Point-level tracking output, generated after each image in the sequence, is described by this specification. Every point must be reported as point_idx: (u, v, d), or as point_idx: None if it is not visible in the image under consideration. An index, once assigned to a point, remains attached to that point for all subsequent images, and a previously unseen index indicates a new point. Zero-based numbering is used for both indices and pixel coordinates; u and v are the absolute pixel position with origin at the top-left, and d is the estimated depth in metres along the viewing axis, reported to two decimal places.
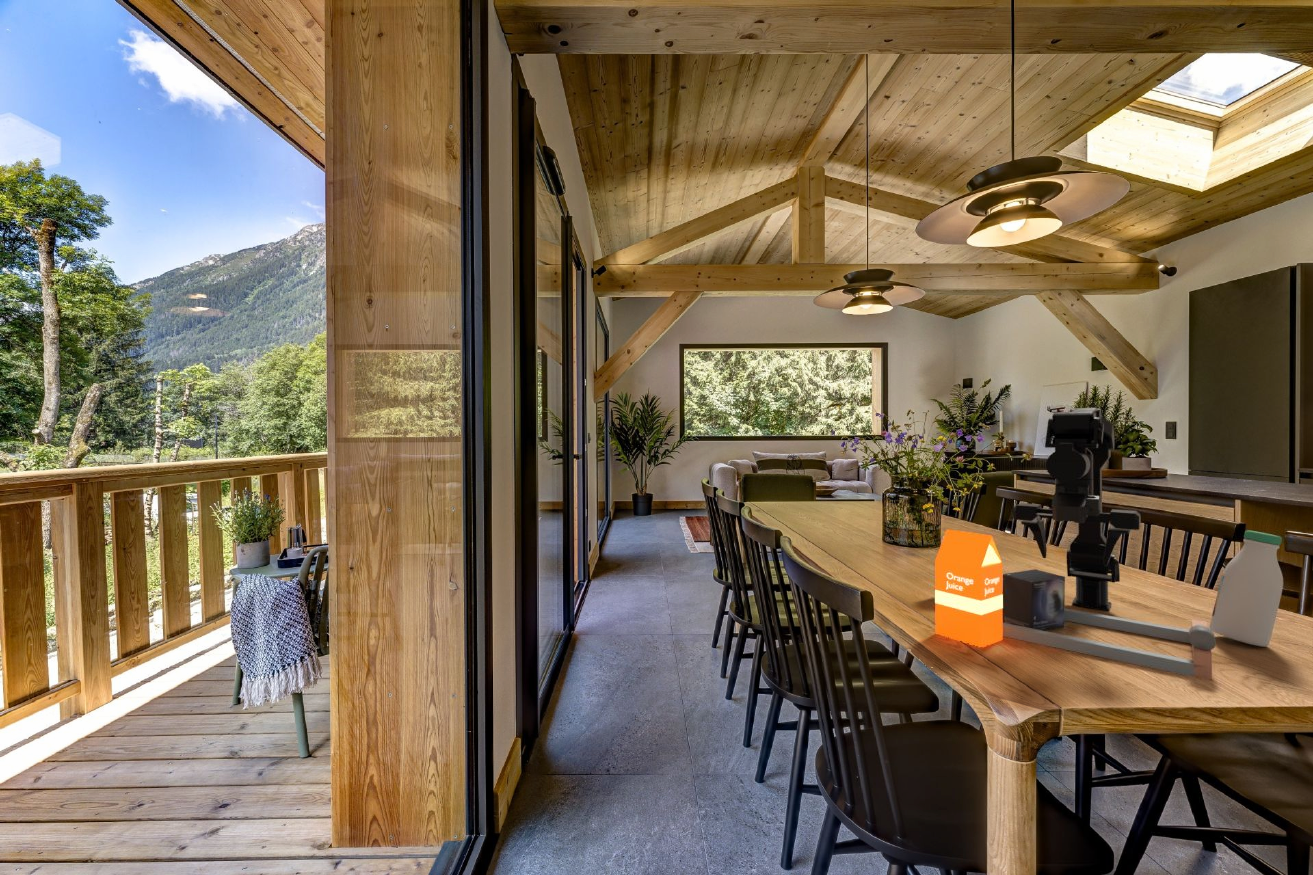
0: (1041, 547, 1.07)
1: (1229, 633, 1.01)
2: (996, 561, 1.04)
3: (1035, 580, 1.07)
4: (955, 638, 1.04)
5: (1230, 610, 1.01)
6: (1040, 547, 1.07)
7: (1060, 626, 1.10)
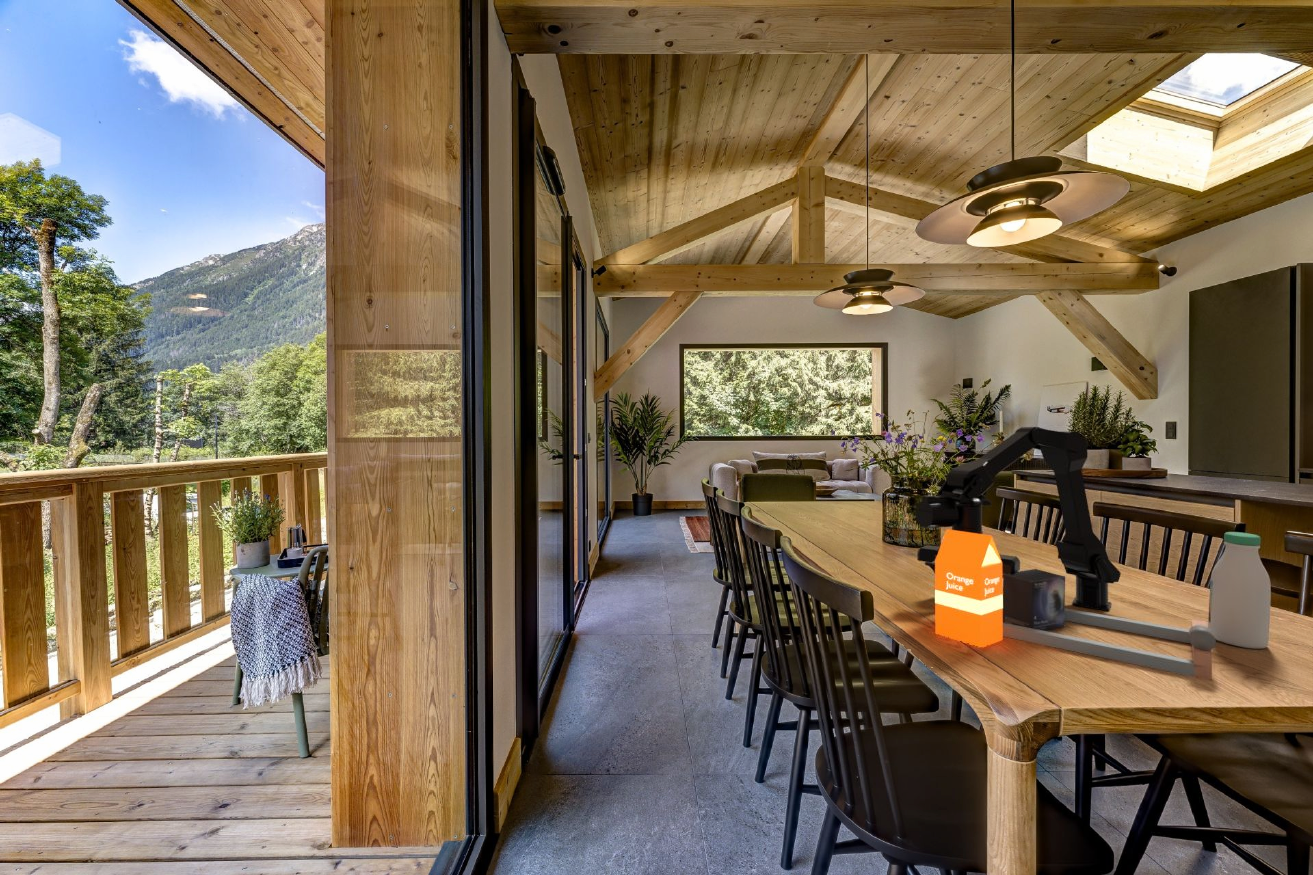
0: None
1: (1228, 639, 1.00)
2: (996, 561, 1.04)
3: (1035, 580, 1.07)
4: (955, 638, 1.04)
5: (1225, 616, 1.01)
6: None
7: (1060, 626, 1.10)
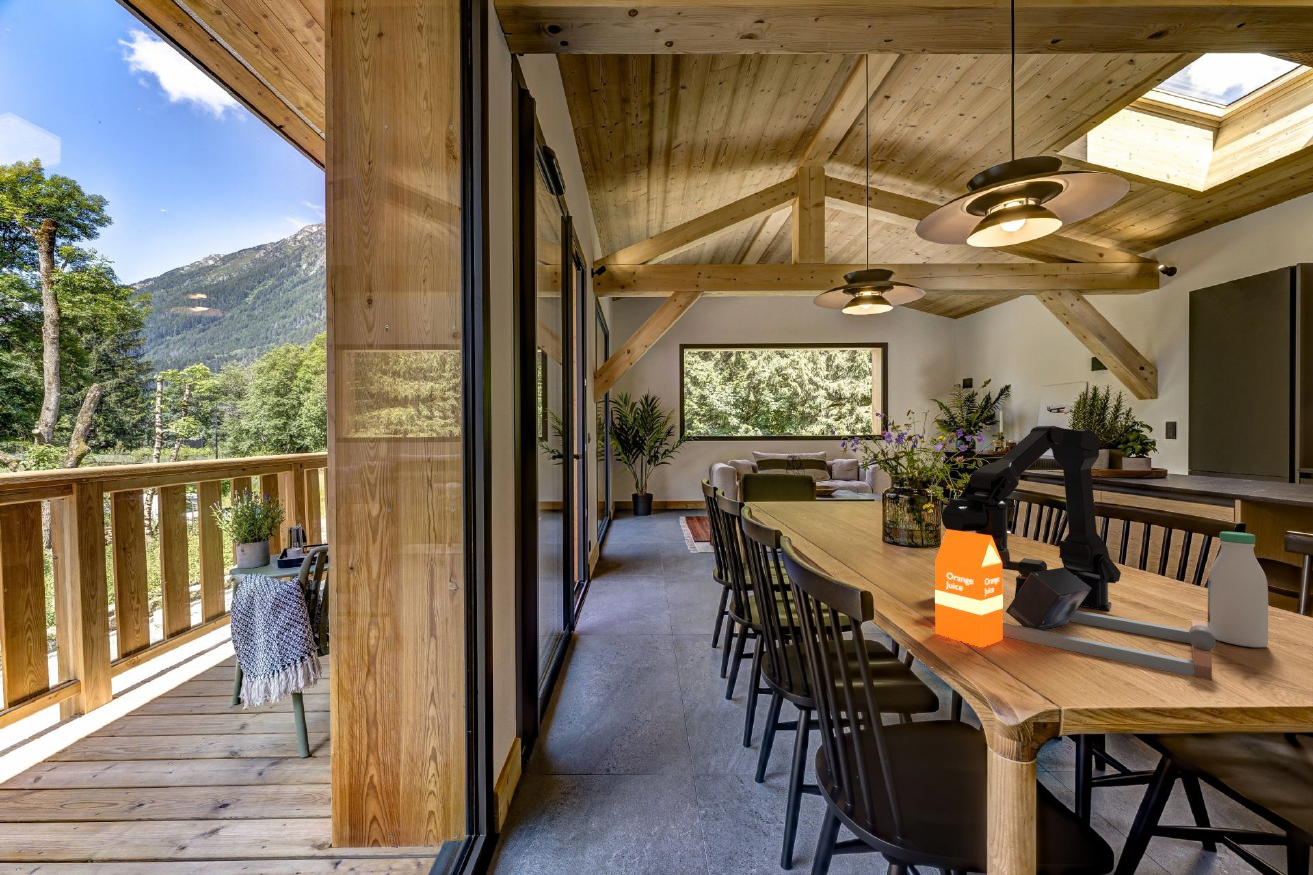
0: None
1: (1229, 638, 1.00)
2: (996, 561, 1.04)
3: (1062, 591, 1.03)
4: (955, 638, 1.04)
5: (1224, 614, 1.01)
6: None
7: (1061, 626, 1.10)
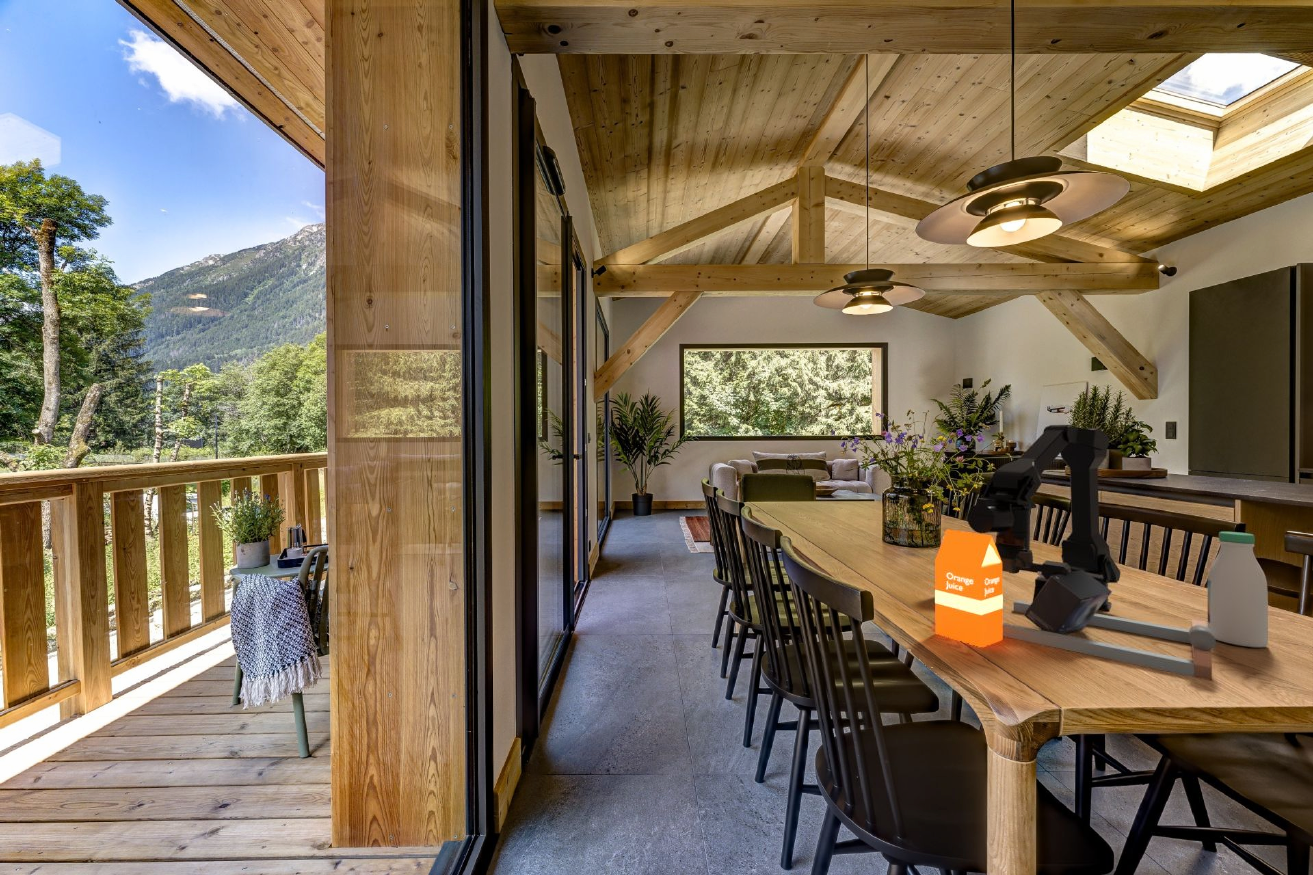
0: None
1: (1230, 639, 1.00)
2: (996, 561, 1.04)
3: (1083, 595, 1.00)
4: (955, 638, 1.04)
5: (1225, 615, 1.01)
6: None
7: (1079, 630, 1.08)
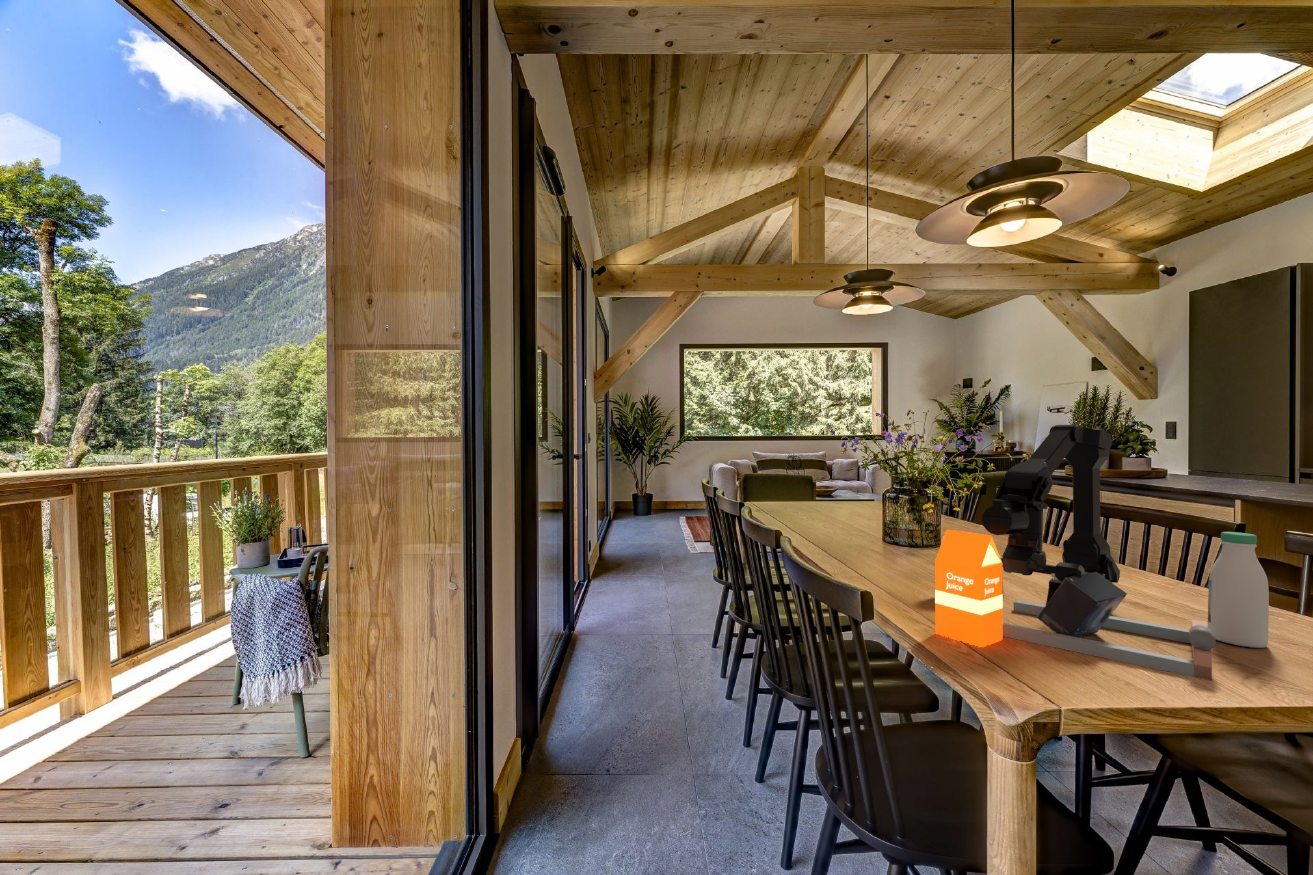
0: None
1: (1230, 639, 1.00)
2: (996, 561, 1.04)
3: (1099, 598, 0.99)
4: (955, 638, 1.04)
5: (1226, 615, 1.01)
6: None
7: (1094, 632, 1.06)
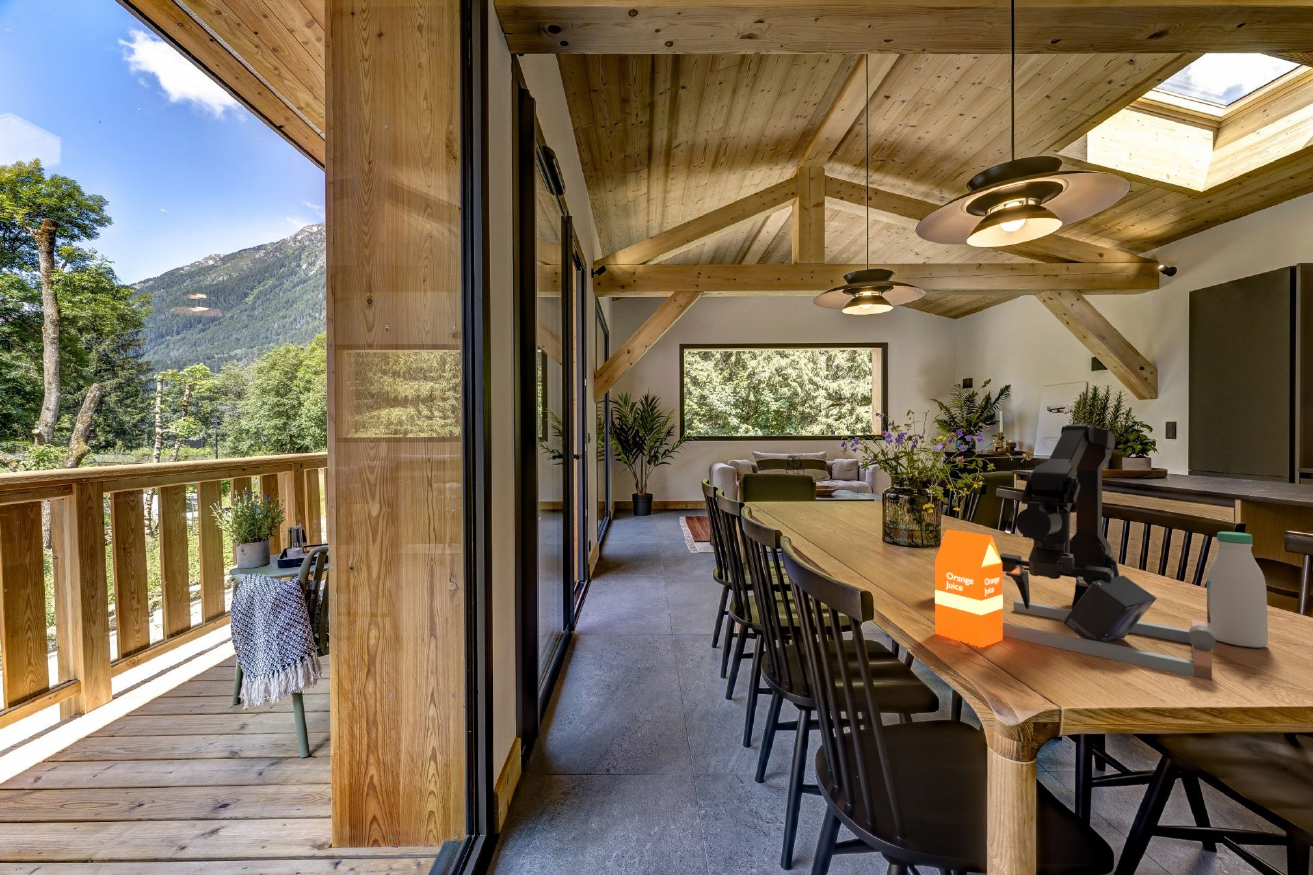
0: (1024, 598, 1.11)
1: (1231, 639, 1.00)
2: (996, 561, 1.04)
3: (1129, 602, 0.96)
4: (955, 638, 1.04)
5: (1225, 615, 1.01)
6: (1023, 598, 1.11)
7: (1121, 638, 1.03)
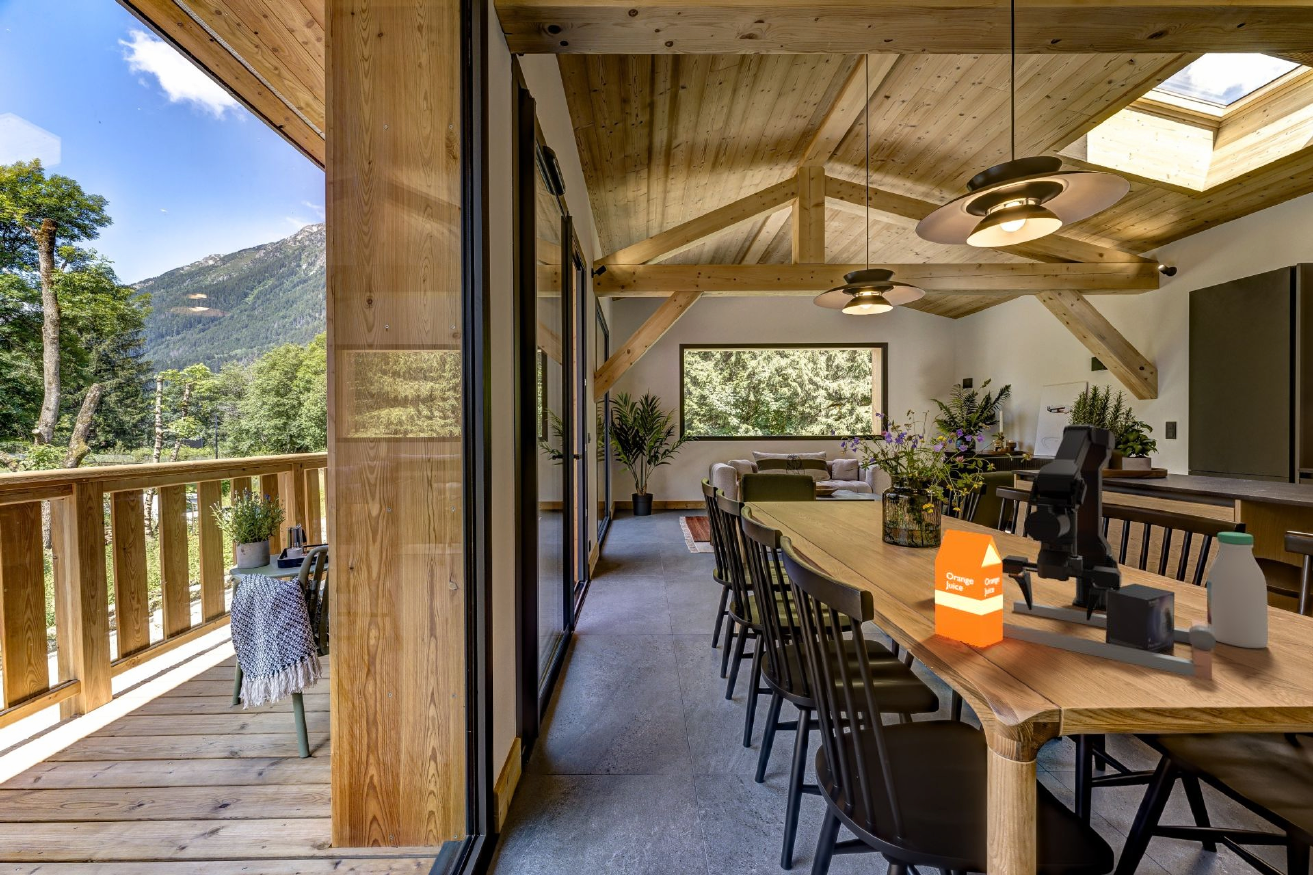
0: (1027, 599, 1.11)
1: (1233, 641, 1.00)
2: (996, 561, 1.04)
3: (1148, 597, 0.96)
4: (955, 638, 1.04)
5: (1228, 617, 1.00)
6: (1026, 599, 1.11)
7: (1170, 647, 0.99)
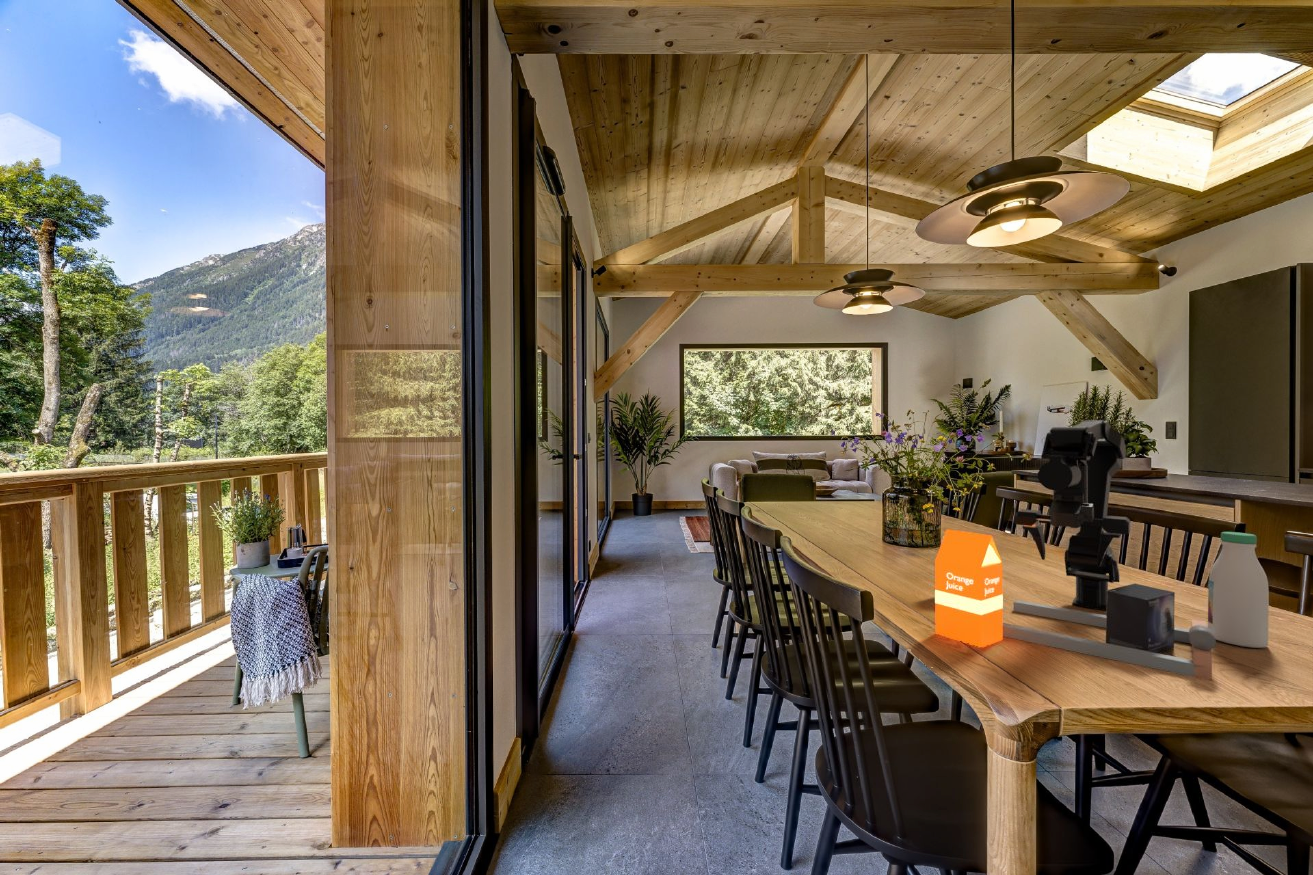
0: (1040, 550, 1.17)
1: (1234, 640, 1.00)
2: (996, 561, 1.04)
3: (1148, 597, 0.96)
4: (955, 638, 1.04)
5: (1229, 616, 1.01)
6: (1039, 550, 1.17)
7: (1170, 647, 0.99)
